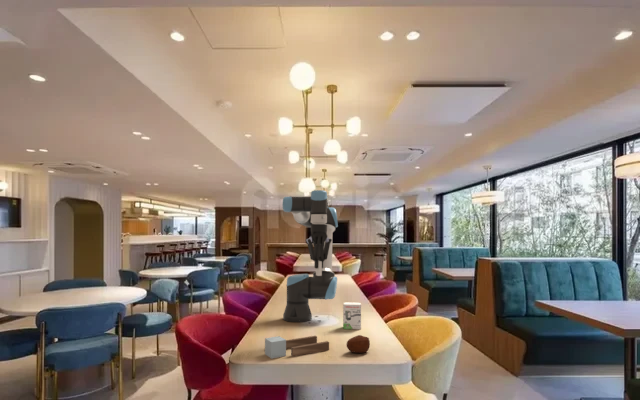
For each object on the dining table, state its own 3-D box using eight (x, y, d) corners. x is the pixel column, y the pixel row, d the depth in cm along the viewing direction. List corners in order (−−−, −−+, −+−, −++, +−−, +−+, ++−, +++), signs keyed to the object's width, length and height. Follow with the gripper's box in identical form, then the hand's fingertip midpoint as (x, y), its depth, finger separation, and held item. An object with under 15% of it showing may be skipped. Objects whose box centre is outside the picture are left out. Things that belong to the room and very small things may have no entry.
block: (264, 354, 151) (265, 338, 151) (279, 351, 154) (279, 336, 154) (271, 358, 146) (271, 342, 146) (285, 356, 149) (286, 339, 149)
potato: (372, 355, 150) (372, 337, 150) (347, 355, 149) (347, 338, 149) (368, 349, 157) (368, 332, 157) (344, 350, 156) (344, 333, 156)
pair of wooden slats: (280, 348, 157) (280, 341, 158) (315, 342, 165) (315, 335, 166) (292, 356, 148) (292, 348, 148) (329, 349, 156) (329, 342, 156)
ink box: (343, 329, 188) (343, 304, 189) (343, 326, 193) (343, 302, 194) (361, 329, 188) (361, 304, 189) (360, 326, 193) (360, 302, 194)
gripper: (310, 223, 176) (310, 277, 174) (335, 223, 182) (335, 275, 181) (302, 223, 182) (302, 275, 180) (326, 224, 189) (326, 273, 187)
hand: (318, 275), depth 180 cm, fingers closed
